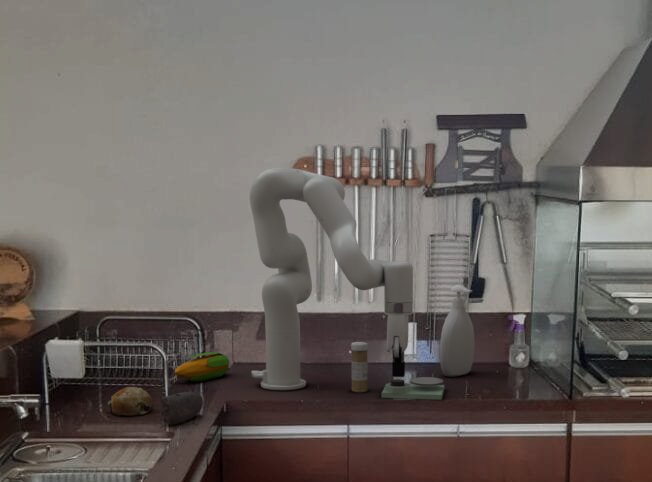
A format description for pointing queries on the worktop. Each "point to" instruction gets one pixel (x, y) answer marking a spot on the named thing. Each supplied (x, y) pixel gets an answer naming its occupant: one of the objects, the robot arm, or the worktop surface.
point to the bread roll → (131, 402)
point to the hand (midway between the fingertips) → (398, 376)
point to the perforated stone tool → (180, 407)
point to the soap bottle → (457, 338)
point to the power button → (397, 382)
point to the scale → (413, 391)
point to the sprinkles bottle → (359, 366)
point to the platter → (426, 381)
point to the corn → (203, 367)
